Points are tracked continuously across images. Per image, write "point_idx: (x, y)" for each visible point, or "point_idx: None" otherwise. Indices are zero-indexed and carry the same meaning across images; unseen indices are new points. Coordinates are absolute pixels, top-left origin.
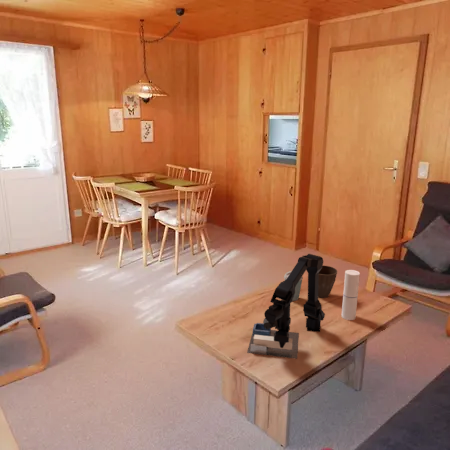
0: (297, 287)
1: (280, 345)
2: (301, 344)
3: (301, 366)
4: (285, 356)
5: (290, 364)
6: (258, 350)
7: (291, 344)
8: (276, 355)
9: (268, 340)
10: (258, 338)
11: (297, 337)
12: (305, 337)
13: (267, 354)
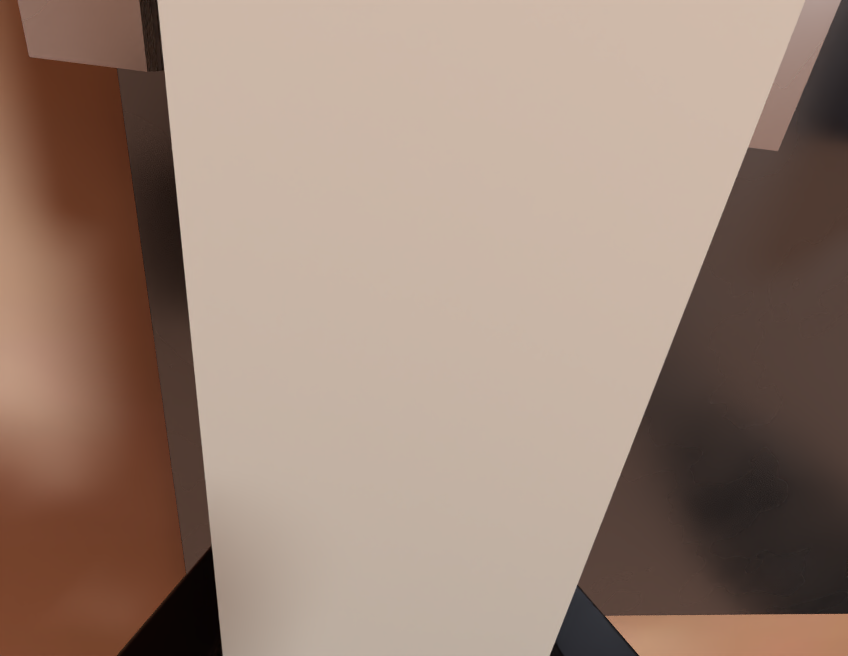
0: None
1: (196, 578)
2: (616, 625)
3: (45, 641)
4: (201, 478)
5: (25, 527)
6: None
7: None
8: (181, 323)
9: (186, 204)
10: None
11: (787, 603)
12: (775, 653)
13: (159, 96)
